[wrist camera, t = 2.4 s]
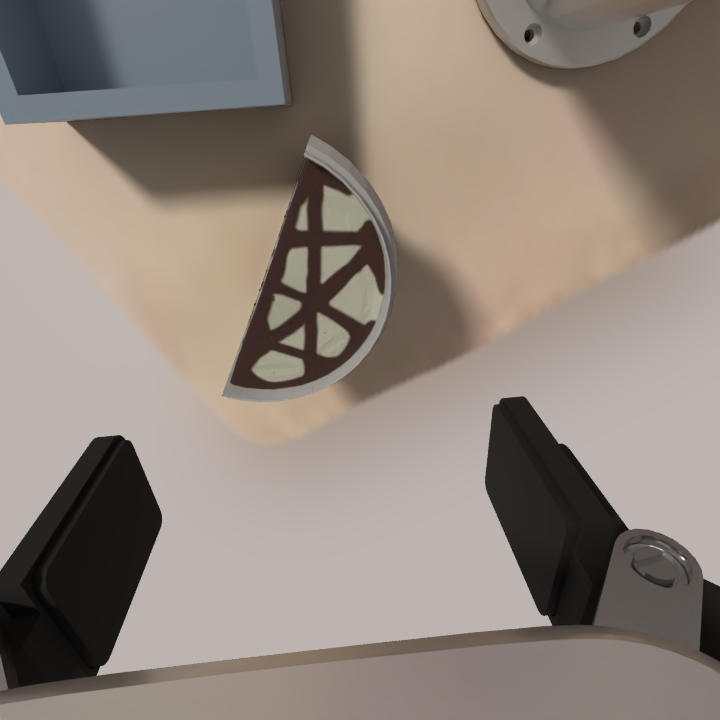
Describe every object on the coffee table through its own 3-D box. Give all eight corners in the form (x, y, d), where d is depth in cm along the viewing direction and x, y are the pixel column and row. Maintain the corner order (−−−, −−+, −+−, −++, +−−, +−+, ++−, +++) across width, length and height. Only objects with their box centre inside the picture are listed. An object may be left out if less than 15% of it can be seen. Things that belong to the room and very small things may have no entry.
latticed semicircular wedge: (335, 346, 31) (338, 439, 22) (250, 317, 29) (218, 404, 21) (414, 174, 25) (459, 208, 17) (315, 127, 24) (308, 137, 15)
